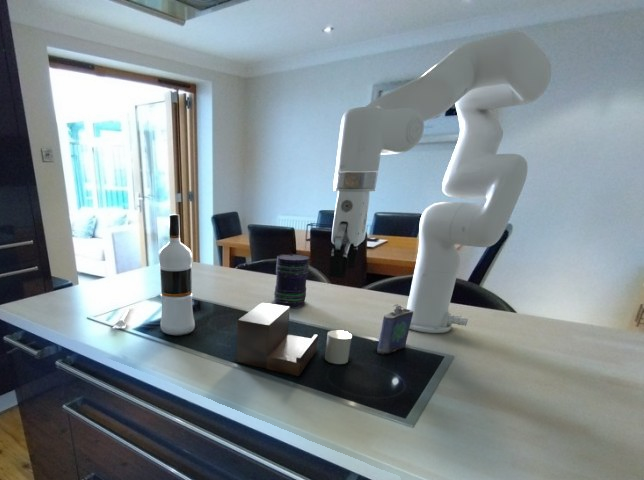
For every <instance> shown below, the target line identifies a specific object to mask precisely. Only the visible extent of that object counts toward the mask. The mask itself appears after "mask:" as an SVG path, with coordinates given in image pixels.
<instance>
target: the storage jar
mask: <svg viewBox="0 0 644 480" xmlns="http://www.w3.org/2000/svg"><path fill="white" fill-rule="evenodd" d="M309 261H310V256H308V255H306V254H299V253H285V254H284V253H283V254H278V255H277V256H276V265H275V275H276V278H275V281H276V282H275V286H274V293H273V295H274V300H273V304H276V305H282V306H289V307H290V309H298V308H302V307H304V306H305V305H306V302H305V300H306V296H307V287H306V286H307V278H308V274H309V268H310V266H309V264H310V262H309Z"/></svg>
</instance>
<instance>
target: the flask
mask: <svg viewBox="0 0 644 480" xmlns="http://www.w3.org/2000/svg"><path fill="white" fill-rule="evenodd" d="M392 307H393V308H394V307H395V308H394V309H393V311H391V312H389V313H386V314H384V315H383V318H382V324H381V328H380V329H381V331H380V334H379V340H378V344H377V349H376V350H377V353H378V354H382V355H385V354H386V355H387V354H390V353H392V352H396V351H397V350H400V349H403V348H406V345H407V340H408V336H409V332H410V329H409V328H410V324H411V320H412V316H413V311H412V310H409V309H407V308H404V307H403V306H401V305H400V304H397V303H396V304H394V305H393V306H392Z"/></svg>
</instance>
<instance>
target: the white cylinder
mask: <svg viewBox="0 0 644 480" xmlns="http://www.w3.org/2000/svg"><path fill="white" fill-rule="evenodd" d="M326 335H327V336H326V345H325V351H324V360H325V361H326V362H328V363H331V364H335V365H345V364H347V363H348V362H349V358H350V351H351V344H352V338H353V335H352V334H351V333H349V332H348V331H344V330H339V329H338V330H337V329H336V330H330V331H328V332H327V334H326Z"/></svg>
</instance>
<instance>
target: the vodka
mask: <svg viewBox="0 0 644 480" xmlns="http://www.w3.org/2000/svg"><path fill="white" fill-rule="evenodd" d="M180 228H181V227H180V214H177V213H172V214H169V215H168V232H169V233H168V234H169V241H168V242H167V244H166V245H164V246H163V247H162V248H160V249H159V251H158V261H159V262H158V263H159V264H158V267H159V271H160V272H159V274H160V301H161V318H160V323H159V324H160V326H159V327H160V330H161V332H162V333H164V334H165V335H169V336H176V337H177V336H185V335H188V334H190V333H192V332H193V331H194V330H195V328H196V322H195V318H194V310H193V296H194V294H193V284H192V283H193V281H192V279H193V278H192V267H193V263H192V262H193V253H192V251H191V248H189V247H188V246H187V245H185V244H184V243H183V242H181V233H180V232H181V231H180V230H181V229H180Z"/></svg>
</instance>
